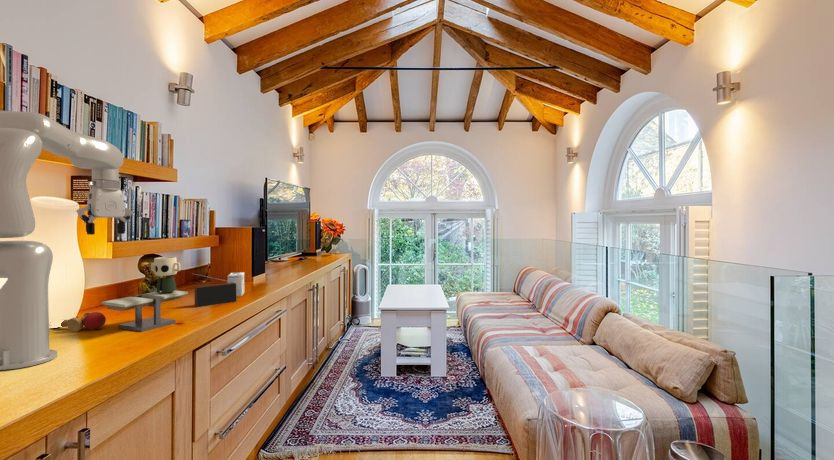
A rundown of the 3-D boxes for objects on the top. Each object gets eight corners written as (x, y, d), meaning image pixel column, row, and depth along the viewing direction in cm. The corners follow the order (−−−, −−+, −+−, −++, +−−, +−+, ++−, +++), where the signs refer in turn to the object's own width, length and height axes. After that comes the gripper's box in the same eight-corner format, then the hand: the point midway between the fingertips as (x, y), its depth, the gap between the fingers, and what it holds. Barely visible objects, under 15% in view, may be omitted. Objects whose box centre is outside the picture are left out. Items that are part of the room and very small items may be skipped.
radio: (233, 300, 181) (233, 268, 181) (236, 301, 179) (236, 269, 179) (189, 307, 168) (188, 272, 168) (191, 308, 166) (191, 273, 166)
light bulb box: (230, 293, 201) (230, 272, 200) (244, 292, 203) (244, 271, 202) (227, 297, 190) (227, 275, 190) (242, 296, 192) (242, 274, 192)
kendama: (41, 336, 129) (91, 329, 128) (41, 317, 131) (92, 310, 129) (63, 334, 137) (111, 327, 136) (64, 315, 138) (112, 309, 137)
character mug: (145, 294, 141) (143, 258, 140) (159, 290, 148) (157, 256, 147) (174, 294, 140) (173, 258, 140) (187, 290, 147) (185, 256, 147)
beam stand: (141, 331, 130) (141, 300, 130) (118, 328, 134) (118, 298, 134) (175, 323, 141) (175, 294, 141) (153, 320, 146) (153, 292, 145)
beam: (125, 315, 125) (124, 304, 125) (102, 311, 130) (101, 301, 130) (188, 300, 146) (188, 291, 145) (166, 298, 150) (166, 289, 150)
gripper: (83, 183, 130) (84, 234, 130) (137, 187, 146) (138, 233, 146) (70, 184, 132) (71, 234, 133) (124, 188, 148) (125, 233, 149)
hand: (106, 234), depth 139 cm, fingers open, 9 cm apart
